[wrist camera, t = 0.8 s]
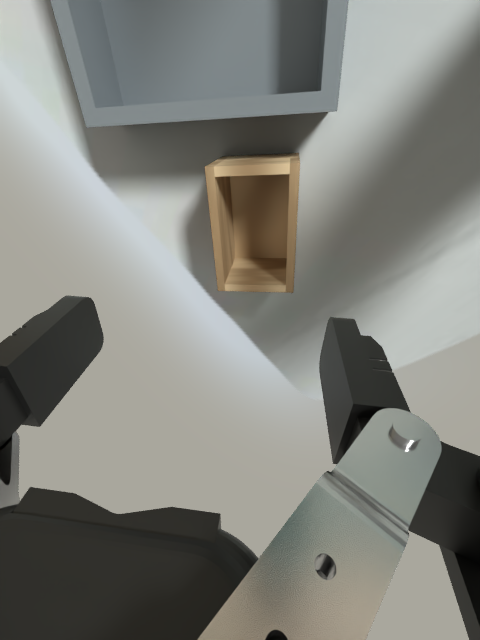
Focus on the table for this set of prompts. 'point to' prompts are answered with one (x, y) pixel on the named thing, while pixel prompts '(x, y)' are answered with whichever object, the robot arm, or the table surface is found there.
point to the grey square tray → (201, 58)
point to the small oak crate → (254, 220)
